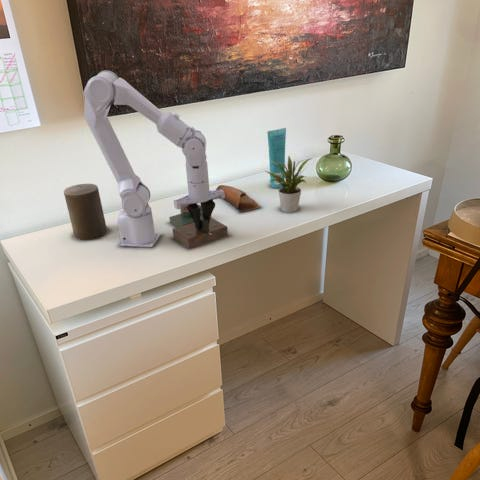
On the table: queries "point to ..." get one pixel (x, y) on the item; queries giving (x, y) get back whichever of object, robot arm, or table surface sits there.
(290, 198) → the house plant
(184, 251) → the table surface
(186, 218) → the button box
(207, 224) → the dark grey red block
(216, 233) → the console
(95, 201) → the pillar candle
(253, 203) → the sunglasses case
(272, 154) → the tube
